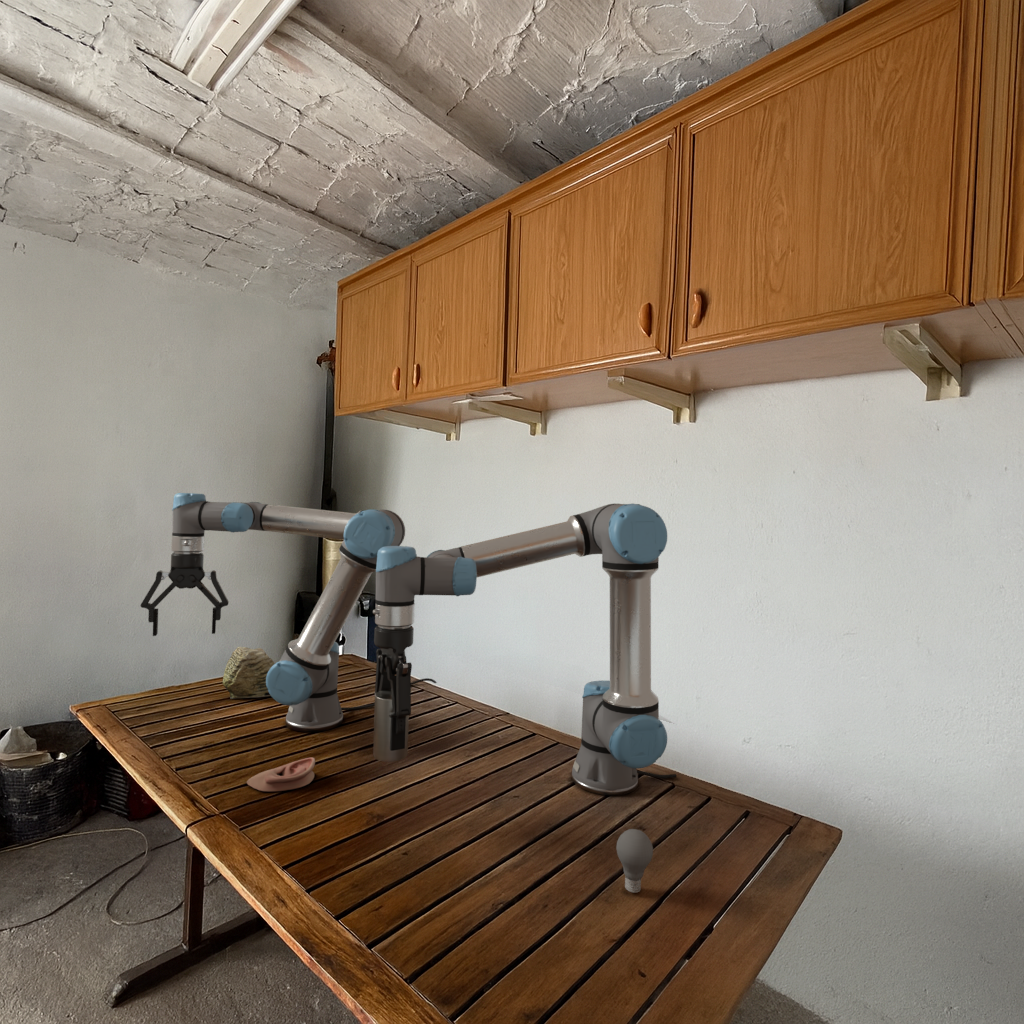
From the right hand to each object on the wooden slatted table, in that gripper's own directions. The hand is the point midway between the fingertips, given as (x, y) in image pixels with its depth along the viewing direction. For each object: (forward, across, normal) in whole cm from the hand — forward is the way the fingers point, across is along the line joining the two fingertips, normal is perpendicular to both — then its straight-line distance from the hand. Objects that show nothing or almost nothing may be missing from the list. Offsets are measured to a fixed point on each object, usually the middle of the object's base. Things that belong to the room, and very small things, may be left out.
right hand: (390, 742), depth 124 cm
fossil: (+15, -92, -12) cm, 94 cm away
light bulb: (+16, +39, +29) cm, 51 cm away
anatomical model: (+16, -27, -15) cm, 35 cm away
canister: (+2, 0, 0) cm, 2 cm away
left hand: (-11, -66, -33) cm, 75 cm away
